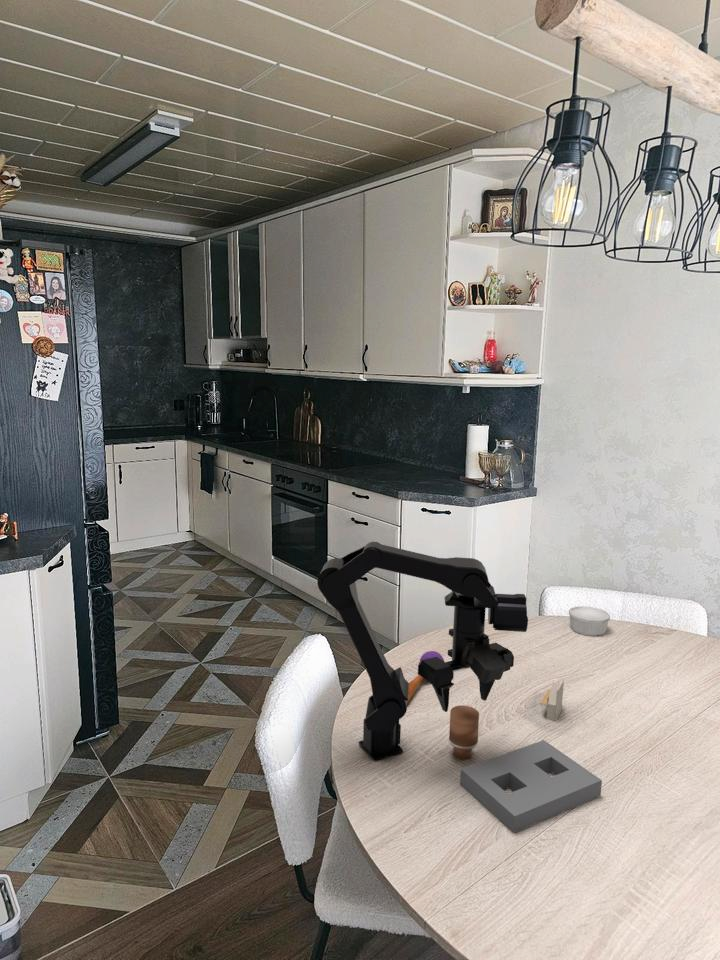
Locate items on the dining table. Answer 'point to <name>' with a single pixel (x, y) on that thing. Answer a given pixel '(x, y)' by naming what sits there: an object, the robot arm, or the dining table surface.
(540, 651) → the dining table surface
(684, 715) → the dining table surface
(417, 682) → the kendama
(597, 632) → the ramekin
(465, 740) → the mahogany dowel
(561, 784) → the charcoal board
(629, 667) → the dining table surface
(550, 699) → the architectural model
